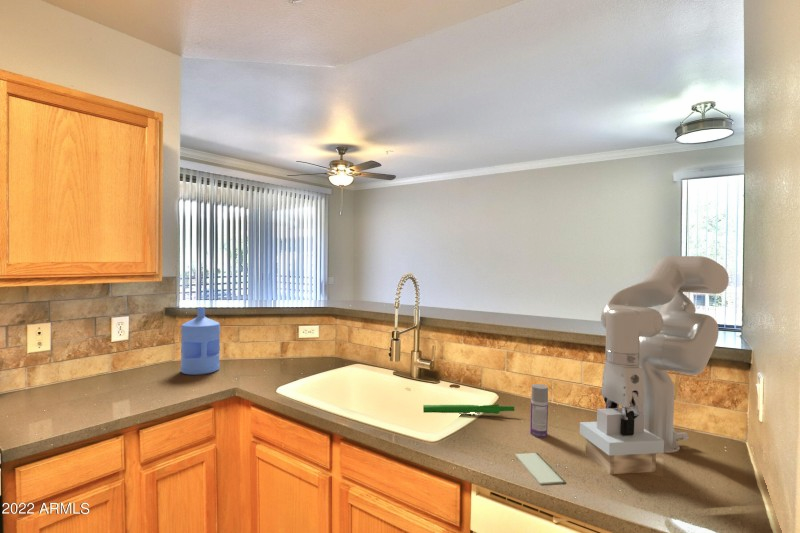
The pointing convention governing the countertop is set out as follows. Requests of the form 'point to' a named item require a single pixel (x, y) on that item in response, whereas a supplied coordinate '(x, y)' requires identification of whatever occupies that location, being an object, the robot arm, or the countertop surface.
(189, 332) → the water jug
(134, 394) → the countertop surface
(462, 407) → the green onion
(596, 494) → the countertop surface
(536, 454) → the mat
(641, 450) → the lid
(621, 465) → the box
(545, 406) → the container
